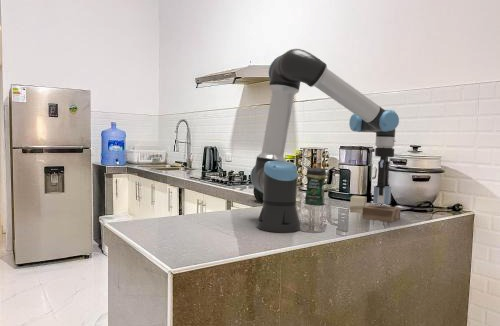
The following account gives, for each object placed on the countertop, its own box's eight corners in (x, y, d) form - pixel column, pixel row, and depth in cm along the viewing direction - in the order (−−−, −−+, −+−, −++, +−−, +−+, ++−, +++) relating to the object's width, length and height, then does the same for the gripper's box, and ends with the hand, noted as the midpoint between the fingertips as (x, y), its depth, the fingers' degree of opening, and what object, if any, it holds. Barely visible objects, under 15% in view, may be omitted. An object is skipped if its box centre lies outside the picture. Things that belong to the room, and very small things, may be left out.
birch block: (363, 213, 175) (364, 198, 175) (350, 212, 178) (350, 196, 178) (366, 211, 181) (366, 196, 180) (352, 210, 183) (353, 195, 183)
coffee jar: (303, 203, 198) (304, 167, 197) (308, 202, 205) (309, 167, 204) (321, 205, 193) (323, 168, 193) (326, 204, 200) (327, 168, 199)
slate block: (388, 204, 160) (389, 187, 159) (373, 203, 162) (374, 186, 162) (390, 203, 165) (391, 186, 165) (375, 201, 168) (376, 185, 167)
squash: (260, 194, 189) (277, 170, 194) (243, 191, 201) (260, 169, 206) (277, 212, 195) (293, 189, 200) (260, 208, 207) (275, 187, 212)
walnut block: (391, 223, 156) (392, 211, 155) (362, 219, 163) (362, 207, 162) (400, 219, 165) (400, 207, 165) (372, 215, 172) (372, 204, 172)
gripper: (391, 147, 152) (388, 206, 153) (397, 147, 169) (394, 200, 170) (371, 146, 156) (368, 204, 157) (379, 147, 173) (376, 199, 174)
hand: (382, 202), depth 164 cm, fingers closed on slate block, 6 cm apart
